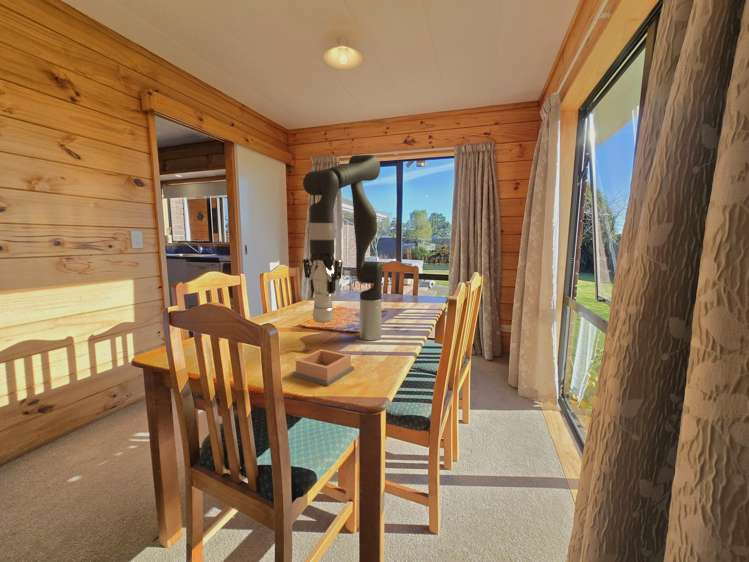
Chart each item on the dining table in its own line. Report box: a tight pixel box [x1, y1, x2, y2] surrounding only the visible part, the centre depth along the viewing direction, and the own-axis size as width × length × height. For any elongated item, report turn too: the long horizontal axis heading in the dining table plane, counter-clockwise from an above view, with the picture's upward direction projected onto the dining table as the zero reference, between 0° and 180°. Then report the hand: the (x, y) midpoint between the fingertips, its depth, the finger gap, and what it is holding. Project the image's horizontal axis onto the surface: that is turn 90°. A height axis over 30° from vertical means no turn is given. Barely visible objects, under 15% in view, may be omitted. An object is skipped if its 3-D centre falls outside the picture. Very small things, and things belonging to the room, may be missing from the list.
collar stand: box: [292, 348, 355, 387], centre depth 107 cm, size 14×14×5 cm
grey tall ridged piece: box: [312, 259, 335, 324], centre depth 103 cm, size 6×7×20 cm
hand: (322, 292), depth 104 cm, fingers closed on grey tall ridged piece, 6 cm apart
